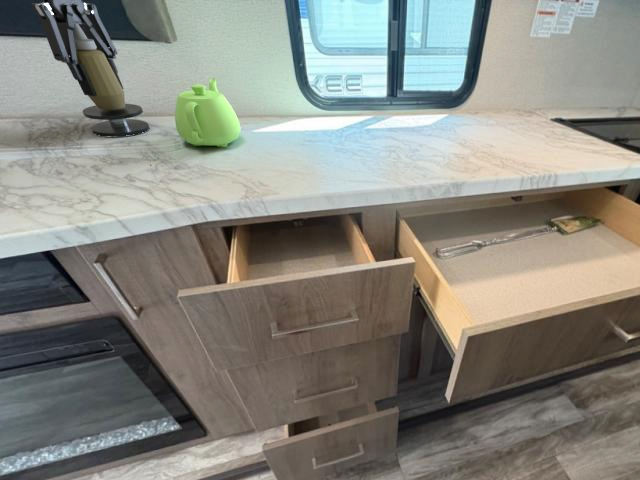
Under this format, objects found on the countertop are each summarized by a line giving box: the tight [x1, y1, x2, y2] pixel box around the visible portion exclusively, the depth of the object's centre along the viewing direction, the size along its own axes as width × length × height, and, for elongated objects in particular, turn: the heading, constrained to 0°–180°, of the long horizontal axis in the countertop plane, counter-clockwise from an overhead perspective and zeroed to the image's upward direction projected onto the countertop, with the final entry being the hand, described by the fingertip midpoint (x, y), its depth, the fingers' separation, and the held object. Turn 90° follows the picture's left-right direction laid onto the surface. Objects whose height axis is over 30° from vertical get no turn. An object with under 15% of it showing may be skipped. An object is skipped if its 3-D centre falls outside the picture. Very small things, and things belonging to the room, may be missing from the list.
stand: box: [82, 103, 150, 137], centre depth 90 cm, size 13×13×5 cm
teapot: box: [174, 77, 241, 148], centre depth 87 cm, size 22×15×13 cm
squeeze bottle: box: [73, 24, 126, 110], centre depth 82 cm, size 8×8×18 cm
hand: (104, 91), depth 86 cm, fingers closed on squeeze bottle, 8 cm apart
